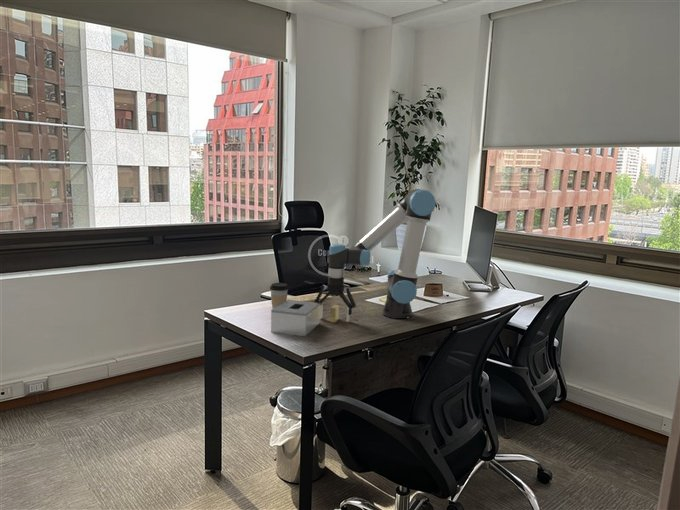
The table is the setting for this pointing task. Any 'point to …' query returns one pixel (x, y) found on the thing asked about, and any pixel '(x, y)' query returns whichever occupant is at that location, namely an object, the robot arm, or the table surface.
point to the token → (334, 313)
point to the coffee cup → (278, 293)
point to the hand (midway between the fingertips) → (334, 319)
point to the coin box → (295, 317)
